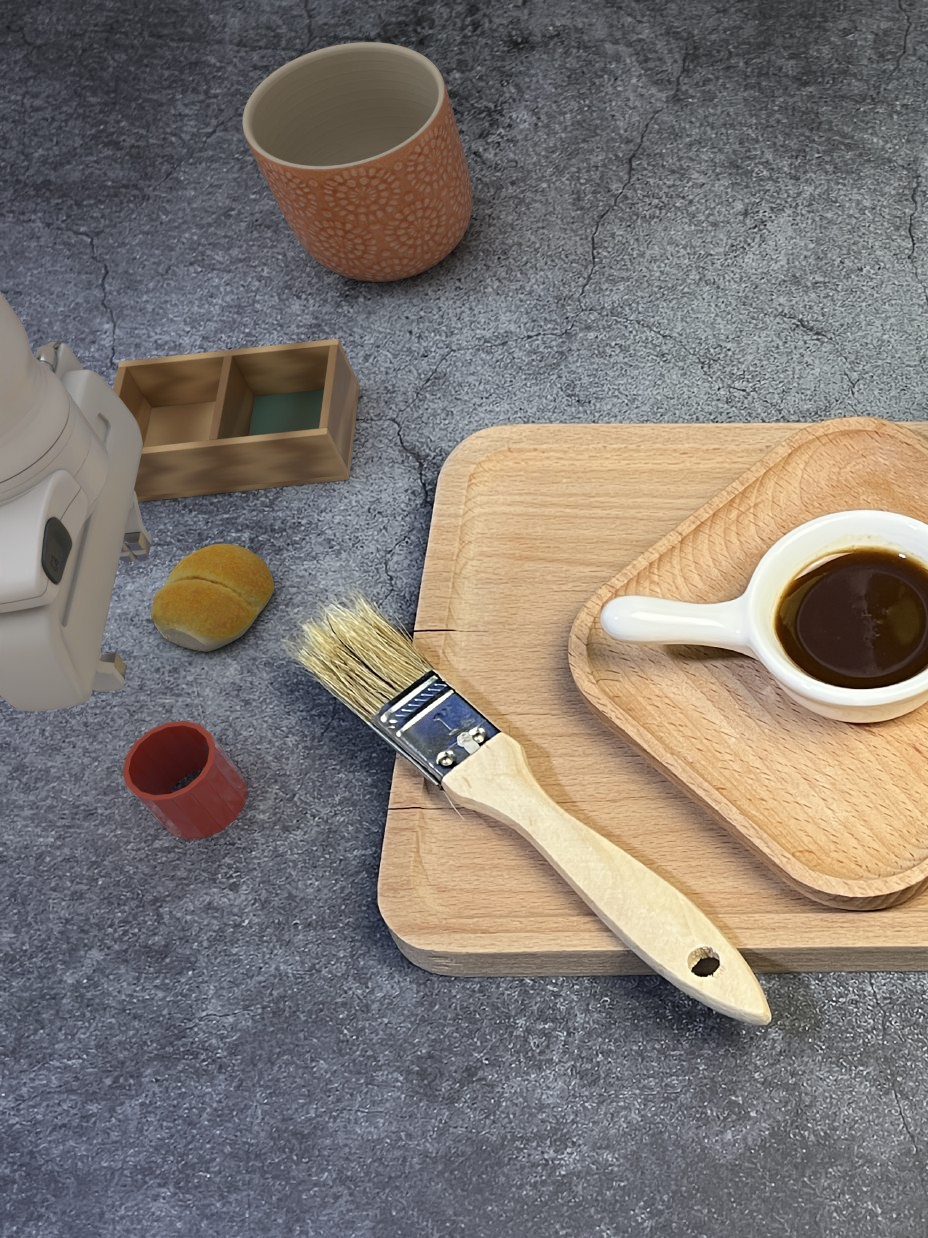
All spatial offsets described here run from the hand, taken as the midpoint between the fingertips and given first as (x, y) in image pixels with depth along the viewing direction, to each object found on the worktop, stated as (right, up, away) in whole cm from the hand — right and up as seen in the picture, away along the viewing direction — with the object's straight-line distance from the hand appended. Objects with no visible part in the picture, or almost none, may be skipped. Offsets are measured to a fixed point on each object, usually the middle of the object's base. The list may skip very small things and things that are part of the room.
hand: (126, 614), depth 90 cm
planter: (+2, +35, +49) cm, 60 cm away
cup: (-2, -14, +16) cm, 21 cm away
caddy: (-7, +15, +36) cm, 39 cm away
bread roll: (-5, +1, +26) cm, 27 cm away
